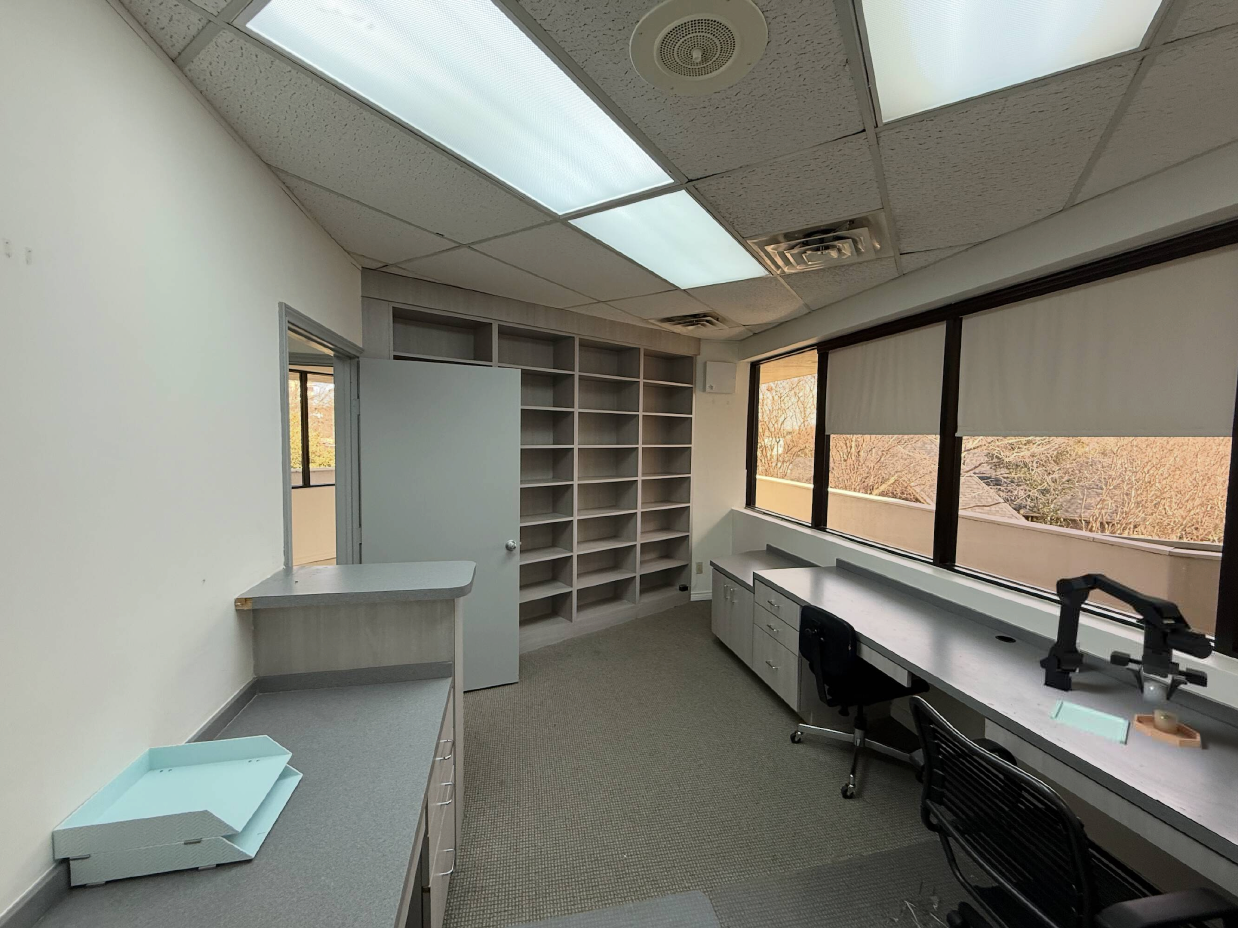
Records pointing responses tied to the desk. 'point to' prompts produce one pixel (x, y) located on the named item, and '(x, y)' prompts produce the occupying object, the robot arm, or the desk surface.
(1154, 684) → the grey rounded lump
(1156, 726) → the river pebble
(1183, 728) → the dish
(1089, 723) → the parts tray
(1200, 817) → the desk surface
